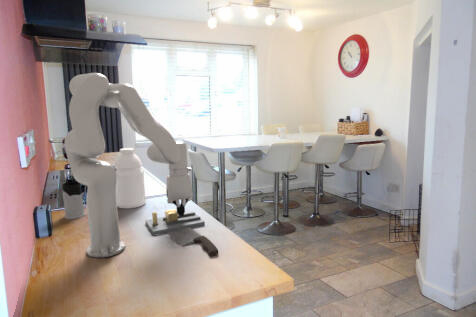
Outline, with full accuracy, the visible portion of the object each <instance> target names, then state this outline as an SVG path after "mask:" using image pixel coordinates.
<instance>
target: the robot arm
mask: <svg viewBox="0 0 476 317" xmlns="http://www.w3.org/2000/svg"><path fill="white" fill-rule="evenodd" d="M68 89H69V92H70V93H71V95H72V96H71V97H70V98H71V99H70V101H69V104H68V105H69V106H68V113H69V119H70V124H71V130H70V131H68V133H67V134H66V136H65V138H64V150H65V152H66V156H67V161H68V164H69V167H70V170H71V174H72V177H73V178H74V180H75V182H79V183H80V184H81V185H83V186H86V187H87V190H86V191H87V192H86V199H85V200H86V204H87V205H86V211H87V218H88V220H87V221H88V229H89V238H90V245H89V246H88V247H87V249H86V254H87V256H89V257H91V258H99V259H100V258H107V257H112V256H116V255H118V254H120V253H122V252H123V251H124V250H125V249H126V243H125V241H123V240H121V237H120V234H121V233H120V225H119V214H118V213H119V211H118V206H117V201H116V184H117V173H116V168H114V165H112V164H111V163H109V162H107V161H104V160H101V159H97V158H99V157H101V156H103V154H104V152H105V151H106V140H105V137H104V133H103V129H102V125H101V124H102V123H101V121H100V116H99V108H100V106H102V107H107V108H114V109H115V108H116V109H118V110H119V112H120V113H121V114H122V116H123V117H124V119H125V120H126V122H127V123H128V124H129V126H130V128H131V129H132V130H133V131H134V132H135V133H137V134H138V135H140V136H142V137H144V138H145V139H147V140H148V141H150V142H151V143H152V144H151V145H149V146H148V148H147V150H146V155H147V157H148V159H149V160H150V161H152V162H155V163H159V164H166V165H168V174H167V175H166V186H165V190H166V191H165V193H166V194H165V195H166V198H167V199H166V202H167V204H171V205H172V204H173V205H175V206H176V211H177V212H178V215H179V216H184V214H185V213H186V210H185V209H186V207H185V206H186V205H187V203H188V202H190V201H191V200H193V199H194V198H193V195H194V193H193V192H194V191H193V184H192V178H191V175H190V174H189V172H190V171H192V167H189V166H188V151H187V150H188V148H187V143H186V142H185V141H181V140H180V141H179V140H175V139H174V137H173V136H172V134H171V133H170V132H169V130H167V128H165V127H164V126H163V125H162V124H161V123H160V122H159V121H157V120H156V119H155V118H154V116H153V115H152V114H151V112H150V110H149V109H148V108H147V106H146V104H145V103H144V101H143V100H142V98H141V96H140V95H139V93H138V91H137V90H136V88H135V87H134V85H132V84H130V83H123V82H122V83H121V82H120V83H110V82H109V79H108V77H107V76H105V75H104V74H102V73H99V72H90V73H84V74H77V75H75V76H74V77H72V78H71V80H70V81H69V84H68Z"/></svg>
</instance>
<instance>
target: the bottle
mask: <svg viewBox="0 0 476 317" xmlns="http://www.w3.org/2000/svg"><path fill="white" fill-rule="evenodd" d="M142 166H143V162H142V160H141V159H140V157H139V156H138V155H137V154H136V153H135V149H134V148H133V147H124V148H120V149H119V155H118V156H117V157H116V159H115V161H114V164H113V167H114V168H115V170H116V173H117V184H116V201H117V208H120V209H135V208H140V207H142V206H144V205H145V204H146V190H145V189H146V188H145V177H144V176H145V174H144V170H143V169H142V168H141V167H142Z"/></svg>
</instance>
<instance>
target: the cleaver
mask: <svg viewBox="0 0 476 317" xmlns="http://www.w3.org/2000/svg"><path fill="white" fill-rule="evenodd" d="M167 234H168V236H169V237H170V239H171V240H172V241H174V242H175V243H176V244H178V245H179V246H182V247H187V246H190V245H195V244H200V245H201V246H202V249H203V250H204V251H206V252H208V255H209V256H210V257H213V256H217V255H219V250H218V248H217V247H216V245H215V244H214V243H213V242H212V241H211V240H210V239H209V238H208V237H206V236H205V235H202V234H200V233H198V232H197V231H196V230H194V229H193V228H188V227H186V228H182V229H177V230H173V231H170V232H167Z"/></svg>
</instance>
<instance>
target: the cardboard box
mask: <svg viewBox="0 0 476 317" xmlns="http://www.w3.org/2000/svg"><path fill="white" fill-rule="evenodd" d="M164 217H165V218H166V221H167V222H173V221H178V212H177V209H175V208H173V209H167V210H166V209H165V210H164Z"/></svg>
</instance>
